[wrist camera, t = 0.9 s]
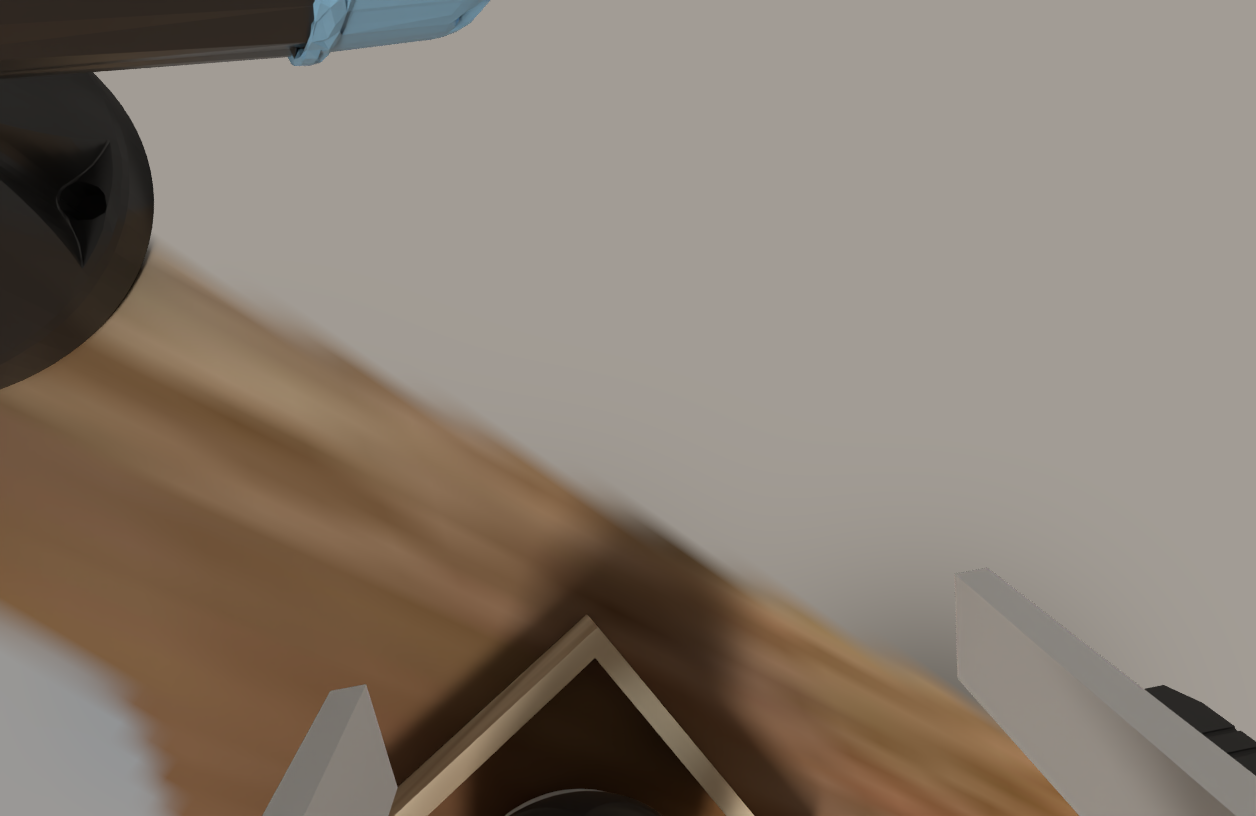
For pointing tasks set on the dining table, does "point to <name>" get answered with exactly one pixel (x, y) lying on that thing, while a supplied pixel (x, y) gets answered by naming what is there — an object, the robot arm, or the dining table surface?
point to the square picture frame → (528, 699)
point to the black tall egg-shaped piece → (583, 805)
